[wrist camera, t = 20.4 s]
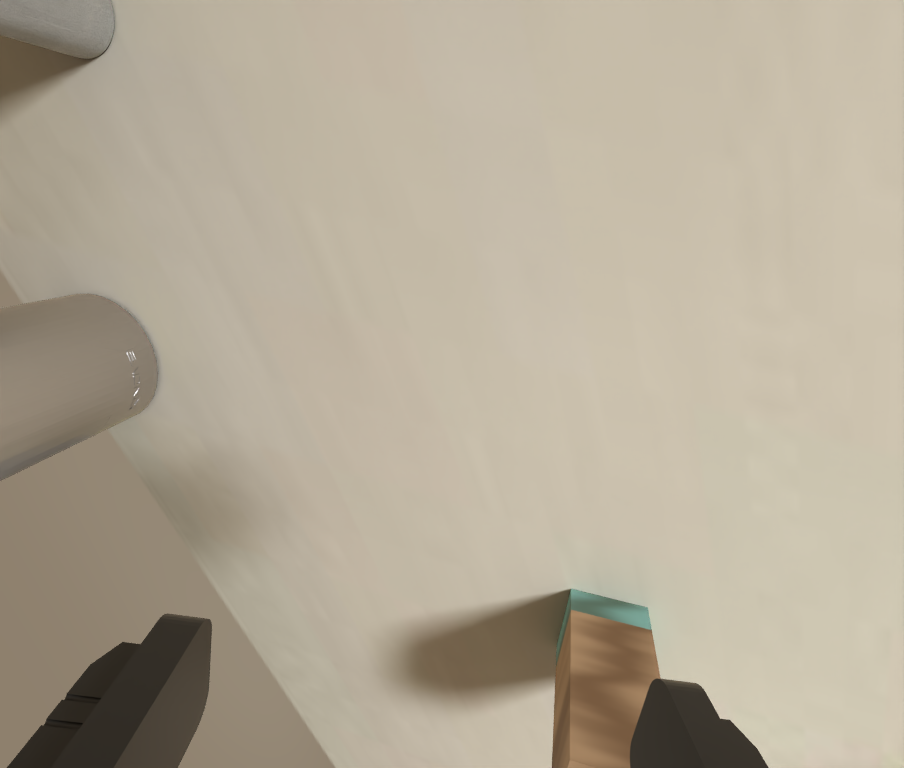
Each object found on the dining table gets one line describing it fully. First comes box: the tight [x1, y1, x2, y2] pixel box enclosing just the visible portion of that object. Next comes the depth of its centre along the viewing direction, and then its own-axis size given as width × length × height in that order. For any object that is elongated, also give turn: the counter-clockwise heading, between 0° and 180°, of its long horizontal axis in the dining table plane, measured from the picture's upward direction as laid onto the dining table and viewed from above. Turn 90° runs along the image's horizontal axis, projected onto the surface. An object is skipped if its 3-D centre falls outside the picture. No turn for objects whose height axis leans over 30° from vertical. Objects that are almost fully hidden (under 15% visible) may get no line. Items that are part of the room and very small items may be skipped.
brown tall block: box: [552, 589, 660, 768], centre depth 31 cm, size 5×5×12 cm
